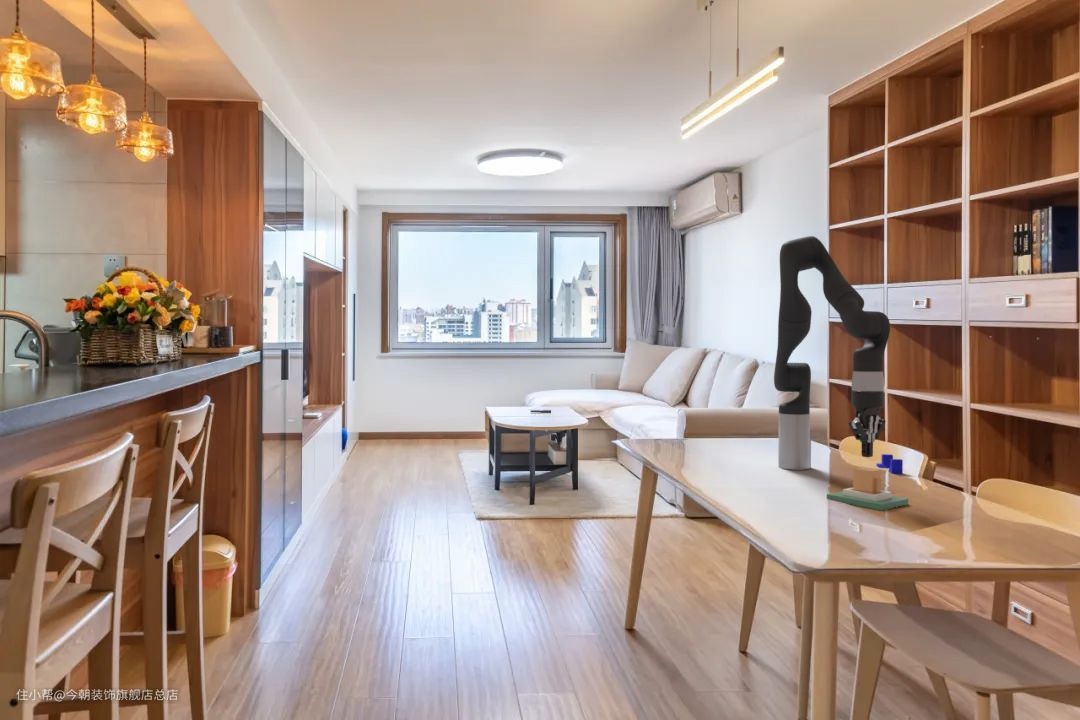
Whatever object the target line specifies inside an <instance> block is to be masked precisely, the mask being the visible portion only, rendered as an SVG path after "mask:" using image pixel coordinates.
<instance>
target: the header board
mask: <svg viewBox="0 0 1080 720" xmlns="http://www.w3.org/2000/svg"><path fill="white" fill-rule="evenodd" d="M826 499H828V500H831V501H836V502H840V503H844V504H848V505H850V504H852V506H855V505H857V506H856V507H860V506H861V508H866V509H872V510H877V511H885V510H891V508H892V509H895V508H894V507H896V508H899V507H898V506H901V507H903V506H902V505H905V504H908V505H909V498H905V497H901V496H900V497H899V496H893V495H892V491H887V490H881V493H879V494H870V493H865V492H859V491H853V487H848V488H843V489H842V491H837V492H831V493H827V494H826ZM905 506H906V505H905Z"/></svg>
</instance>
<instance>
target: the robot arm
mask: <svg viewBox="0 0 1080 720" xmlns="http://www.w3.org/2000/svg"><path fill="white" fill-rule="evenodd" d="M814 268H815V269H816V270H817V271H819V272H820V274H821V276H822V292H823V295H824V297H825V299H826V300H827V302H828V303H829V304H830V306H831V307H832V308H833V309H834V310H835V311H836V313H838V315H839V318H840V320H841V323H842V325H843V327H844V329H845V330H846V332H847V333H848V335H850V336H851V337H854V338H856V339H862V340H863V339H864V340H865V341H864V344H863V346H862V347H861V348H857V349H855V350H854V351H853V354H852V355H853V356H852V377H851V407H852V408H855V413H854V419H853V420H850V421H849V422H848V425H849V427H850V429H851V432H852V433H853V436H854V438H855V440H857V441H859V442H860V443H861V456H862V457H864V458H872V457H873V456H874V443H875V441H876V440H879V438H880V436H881V435H882V431H883V428H884V426H885V424H886V419H883V418H882V419H881V413H880V409H884V407H885V405H884V404H885V403H884V402H885V379H884V354H885V351H886V347H887V344H888V341H889V338H890V337H889V336H890V333H891V324H890V323H891V322H890V320H889V317H888V316H887V315H886V314H885V313H884V312H882V311H878V310H877V311H873V310H872V311H871V310H870V311H869V310H868V311H867V310H863V309H864V308H865V307H864V306H865V300H864V298H863V296H861V294H860V293H859V292H858V291H857V290H856V289H855V287H853V286H852V285H851V284H850V283H849V281H848V280H847V279H846V277H844V275H843V274H842V273H841V271H840V269H839V268H838V266H837V264H836V262H835V261H834V259H833V257H832V256H831V255H830V253H829V251H828V250H827V248H826V247H825V245H824V244H823V243H822V241H821V240H820V239H819V238H818V237H816V236H814V235H810V236H803V237H799V238H795V239H790V240H787V241H785V242H784V243H783V244H782V245H781V246H780V249H779V277H780V282H779V283H780V295H779V297H780V298H779V307H778V308H779V309H778V310H779V311H778V321H777V324H778V325H777V327H778V328H777V329H778V330H777V351H776V355H775V356H776V357H775V366H774V371H773V372H774V373H773V383H774V388H775V390H777V391H778V392H783V393H787V392H788V393H798V395H797V396H796V397H795V398H793V399H791V400H788V401H786V402H782V403H779V405H778V451H777V452H778V461H777V462H778V465H777V466H778V468H780V469H786V470H793V471H795V470H796V471H798V470H799V471H803V470H809V469H811V467H812V438H811V437H810V431H811V430H810V429H811V427H810V425H811V424H810V421H811V420H810V412H811V411H810V407H811V406H810V403H811V400H810V399H811V398H810V395H811V382H812V372H811V371H812V370H811V366H810V365H809V363H806V362H789V360H790V358H791V355H792V353H793V352H794V351H795V350H796V348H798V346H799V345H801V343H802V342H803V341H804V340H805V339H806V337H807V336H808V335H809V332H810V331H811V324H812V312H813V311H812V308H811V305H810V303H809V301H808V300H807V298H806V297H805V295H804V294H803V293H802V291H801V290H800V287H799V274H800V272H803V271H807V270H810V269H814Z"/></svg>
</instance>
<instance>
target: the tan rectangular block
mask: <svg viewBox="0 0 1080 720" xmlns="http://www.w3.org/2000/svg"><path fill="white" fill-rule="evenodd" d="M852 470H853V471H852V477H853V478H852V479H853V480H852V483H853V485H852V486H853V487H852V488H853V491H859V492H865V493H870V494H879V493H881V489H882V487H881V486H882V483H881V482H882V478H881V469H877V468H869V467H863V466H861V467H855V468H853V469H852Z"/></svg>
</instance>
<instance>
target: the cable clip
mask: <svg viewBox="0 0 1080 720" xmlns="http://www.w3.org/2000/svg"><path fill="white" fill-rule="evenodd" d="M903 461H904V460H903V459H901V458H894V456H893V454H888V453H887V454H885V453H883V454H881V463H879V462H877V463H875V464H876V467H877V468H879V469H888V472H889V473H890V474H895V475H903V468H904V467H903V466H904V465H903Z"/></svg>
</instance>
